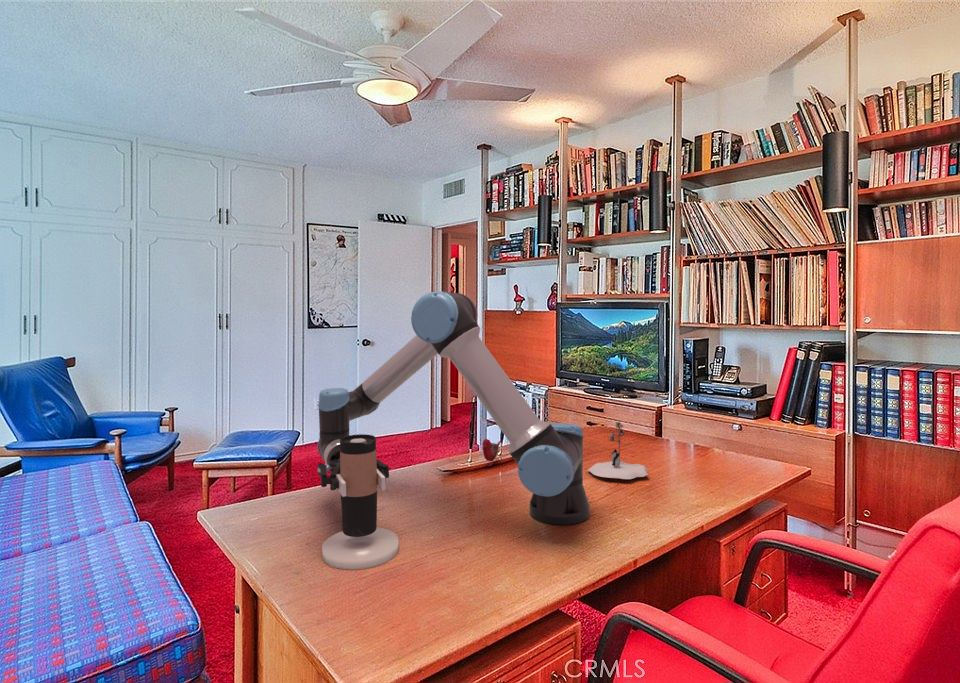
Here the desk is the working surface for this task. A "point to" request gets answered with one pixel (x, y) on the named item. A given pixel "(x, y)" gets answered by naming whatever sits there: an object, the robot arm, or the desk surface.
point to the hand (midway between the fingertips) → (364, 486)
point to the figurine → (618, 464)
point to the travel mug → (359, 484)
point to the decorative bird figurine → (490, 450)
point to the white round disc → (360, 549)
